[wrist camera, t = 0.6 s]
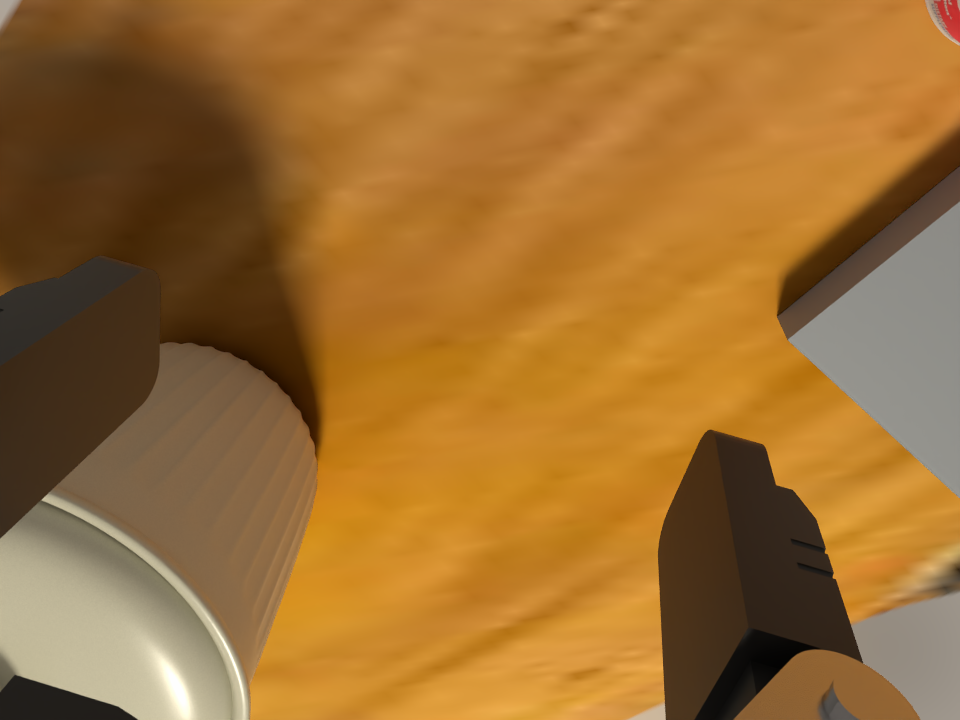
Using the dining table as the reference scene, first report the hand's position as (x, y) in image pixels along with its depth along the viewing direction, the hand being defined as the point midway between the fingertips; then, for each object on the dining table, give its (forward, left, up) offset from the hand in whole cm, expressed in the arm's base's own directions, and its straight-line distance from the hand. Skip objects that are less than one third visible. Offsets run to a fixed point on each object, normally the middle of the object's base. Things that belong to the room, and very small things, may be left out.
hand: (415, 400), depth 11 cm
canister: (+26, -2, -26) cm, 36 cm away
